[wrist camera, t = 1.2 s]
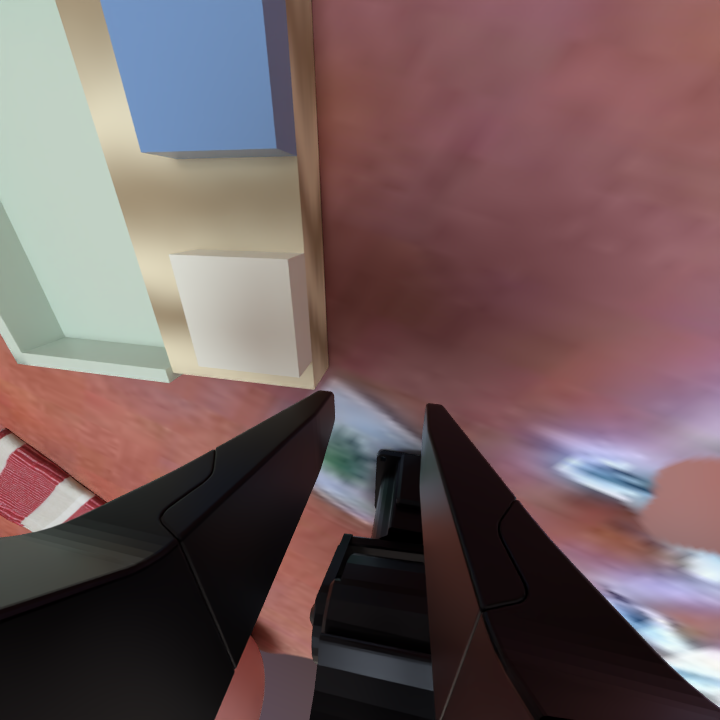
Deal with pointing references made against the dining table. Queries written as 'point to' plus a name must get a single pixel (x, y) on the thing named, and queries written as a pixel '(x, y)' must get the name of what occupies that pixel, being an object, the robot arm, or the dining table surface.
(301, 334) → the white tile
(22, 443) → the dish towel
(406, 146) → the dining table surface
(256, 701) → the balloon
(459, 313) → the dining table surface
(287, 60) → the blue tile
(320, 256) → the beige flat block
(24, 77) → the tray
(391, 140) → the dining table surface
